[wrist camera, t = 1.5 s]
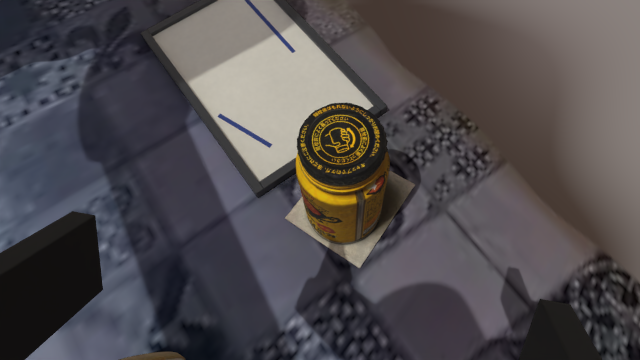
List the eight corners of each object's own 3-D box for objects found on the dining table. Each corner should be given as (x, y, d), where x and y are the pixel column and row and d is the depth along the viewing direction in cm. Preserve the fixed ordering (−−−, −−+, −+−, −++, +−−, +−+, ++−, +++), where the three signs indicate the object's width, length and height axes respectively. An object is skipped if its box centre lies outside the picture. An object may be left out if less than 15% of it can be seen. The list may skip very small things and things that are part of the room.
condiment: (285, 219, 35) (257, 151, 24) (342, 143, 38) (341, 51, 27) (359, 269, 33) (366, 220, 22) (414, 186, 36) (445, 105, 25)
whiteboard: (144, 39, 44) (140, 32, 43) (257, -23, 47) (256, -31, 46) (258, 198, 36) (255, 193, 35) (386, 111, 39) (387, 105, 38)
